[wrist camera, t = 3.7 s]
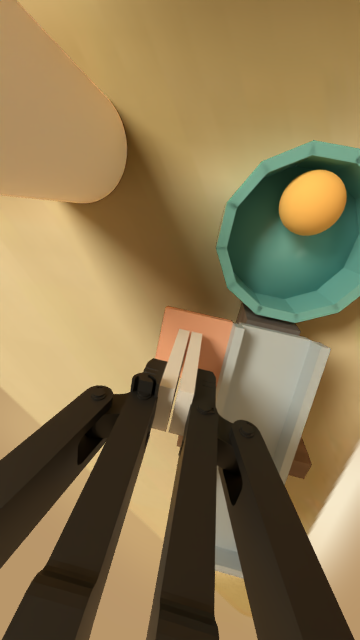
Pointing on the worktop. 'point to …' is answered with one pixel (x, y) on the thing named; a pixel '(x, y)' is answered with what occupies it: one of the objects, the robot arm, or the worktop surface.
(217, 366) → the lever
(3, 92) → the cup
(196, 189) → the worktop surface
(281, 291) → the dish
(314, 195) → the ball
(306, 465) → the stand
